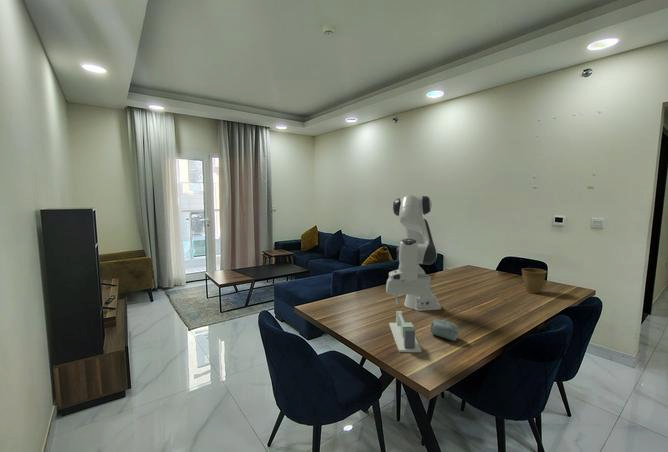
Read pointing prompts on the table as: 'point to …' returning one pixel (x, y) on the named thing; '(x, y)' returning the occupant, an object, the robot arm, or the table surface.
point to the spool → (444, 329)
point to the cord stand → (409, 338)
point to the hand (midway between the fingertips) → (407, 303)
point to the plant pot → (533, 279)
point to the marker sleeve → (405, 325)
